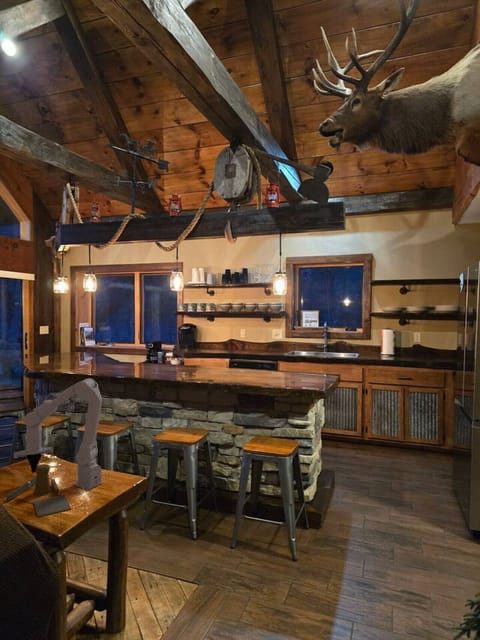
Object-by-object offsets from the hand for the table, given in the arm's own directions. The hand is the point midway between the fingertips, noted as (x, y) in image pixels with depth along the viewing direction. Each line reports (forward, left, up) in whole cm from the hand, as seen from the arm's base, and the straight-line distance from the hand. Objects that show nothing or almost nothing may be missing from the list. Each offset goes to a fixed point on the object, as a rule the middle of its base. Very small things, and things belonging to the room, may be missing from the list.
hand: (33, 471), depth 172 cm
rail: (-14, 0, -5) cm, 14 cm away
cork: (-11, +4, -5) cm, 13 cm away
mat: (-24, +9, -5) cm, 27 cm away
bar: (-4, +7, -4) cm, 9 cm away
